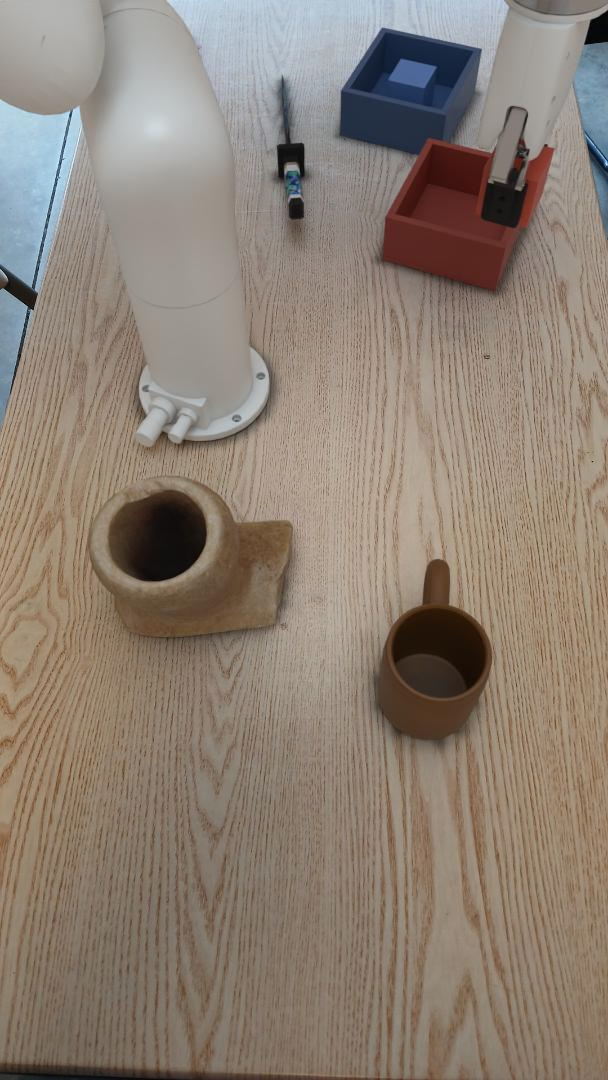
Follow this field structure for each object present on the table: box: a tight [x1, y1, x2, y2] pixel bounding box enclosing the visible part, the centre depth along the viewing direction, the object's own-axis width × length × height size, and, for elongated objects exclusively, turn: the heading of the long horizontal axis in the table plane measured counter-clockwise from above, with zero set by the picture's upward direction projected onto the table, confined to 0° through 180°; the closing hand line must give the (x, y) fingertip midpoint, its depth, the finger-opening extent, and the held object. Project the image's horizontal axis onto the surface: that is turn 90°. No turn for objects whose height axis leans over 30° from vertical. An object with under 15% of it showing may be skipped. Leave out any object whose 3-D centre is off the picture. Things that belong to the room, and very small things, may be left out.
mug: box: [377, 558, 493, 741], centre depth 62 cm, size 12×8×9 cm, turn 175°
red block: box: [476, 140, 555, 229], centre depth 69 cm, size 4×4×4 cm
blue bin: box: [339, 27, 483, 155], centre depth 99 cm, size 14×13×6 cm
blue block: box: [387, 59, 437, 107], centre depth 99 cm, size 4×4×4 cm
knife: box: [276, 74, 306, 221], centre depth 96 cm, size 31×3×4 cm, turn 1°
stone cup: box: [87, 475, 294, 638], centre depth 63 cm, size 15×12×15 cm
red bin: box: [381, 138, 523, 292], centre depth 88 cm, size 14×13×6 cm
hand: (509, 200), depth 71 cm, fingers closed on red block, 4 cm apart
